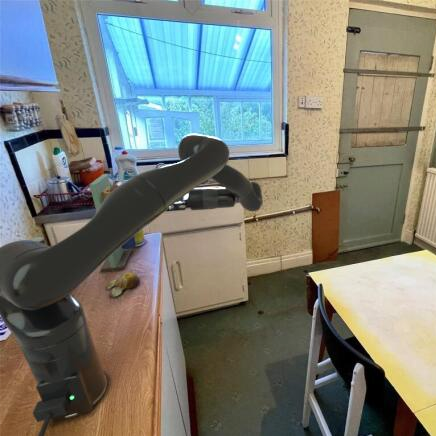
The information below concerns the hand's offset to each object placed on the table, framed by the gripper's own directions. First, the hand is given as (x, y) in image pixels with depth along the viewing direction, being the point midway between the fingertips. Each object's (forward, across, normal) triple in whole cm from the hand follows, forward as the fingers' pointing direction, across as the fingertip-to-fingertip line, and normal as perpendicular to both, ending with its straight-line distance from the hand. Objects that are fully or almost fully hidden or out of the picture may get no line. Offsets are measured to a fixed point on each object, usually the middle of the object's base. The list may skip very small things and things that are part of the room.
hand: (153, 201), depth 94 cm
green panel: (+13, -2, +23) cm, 26 cm away
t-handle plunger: (+10, -2, +17) cm, 20 cm away
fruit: (+10, +14, +23) cm, 28 cm away
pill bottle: (+11, -15, +23) cm, 30 cm away
